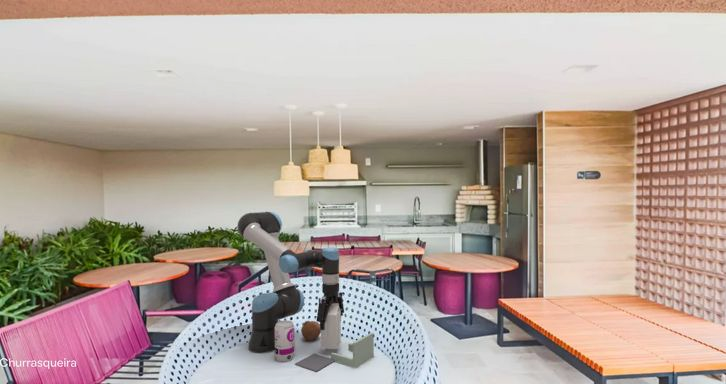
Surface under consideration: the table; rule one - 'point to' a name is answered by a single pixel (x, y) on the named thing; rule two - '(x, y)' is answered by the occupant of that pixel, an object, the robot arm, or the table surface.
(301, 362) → the mat
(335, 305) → the milk carton
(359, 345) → the rack
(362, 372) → the table surface
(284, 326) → the supplement can
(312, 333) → the onion
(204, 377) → the table surface
